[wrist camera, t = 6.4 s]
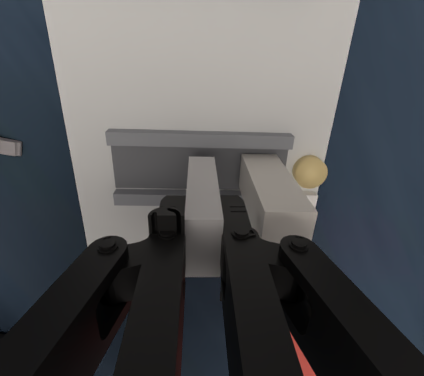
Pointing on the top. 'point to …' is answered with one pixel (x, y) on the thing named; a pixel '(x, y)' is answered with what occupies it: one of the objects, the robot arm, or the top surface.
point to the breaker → (274, 199)
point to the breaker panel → (192, 95)
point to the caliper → (10, 147)
